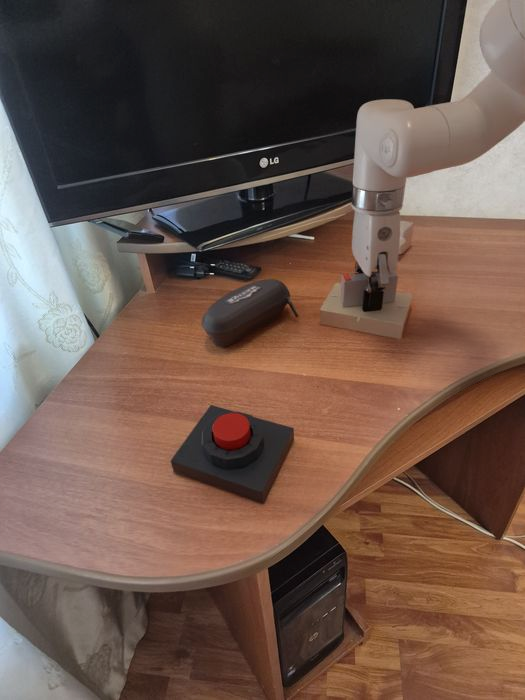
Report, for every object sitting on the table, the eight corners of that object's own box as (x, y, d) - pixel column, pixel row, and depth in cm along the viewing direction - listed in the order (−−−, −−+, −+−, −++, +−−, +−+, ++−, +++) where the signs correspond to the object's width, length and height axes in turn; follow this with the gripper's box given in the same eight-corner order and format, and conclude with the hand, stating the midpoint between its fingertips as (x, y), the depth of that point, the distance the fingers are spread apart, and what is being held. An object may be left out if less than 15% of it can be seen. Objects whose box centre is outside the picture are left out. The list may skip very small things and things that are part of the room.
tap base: (412, 303, 80) (414, 288, 78) (399, 345, 71) (401, 329, 69) (337, 292, 85) (338, 277, 83) (316, 329, 76) (316, 313, 74)
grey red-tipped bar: (390, 295, 77) (394, 268, 74) (394, 302, 75) (398, 274, 72) (339, 300, 77) (341, 274, 73) (343, 307, 75) (344, 280, 72)
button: (256, 428, 54) (255, 418, 52) (240, 455, 50) (239, 445, 49) (224, 418, 55) (223, 409, 54) (207, 444, 52) (205, 434, 51)
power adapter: (392, 266, 92) (396, 240, 88) (371, 261, 94) (373, 235, 90) (413, 247, 98) (417, 221, 95) (393, 242, 101) (396, 217, 97)
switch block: (294, 439, 56) (293, 418, 54) (263, 503, 49) (261, 482, 47) (212, 415, 61) (208, 394, 58) (173, 472, 54) (167, 450, 51)
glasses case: (261, 291, 85) (269, 261, 79) (299, 326, 81) (311, 297, 75) (186, 332, 75) (190, 301, 69) (226, 373, 72) (233, 344, 66)
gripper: (424, 214, 58) (405, 326, 69) (384, 177, 72) (373, 276, 83) (369, 219, 58) (358, 331, 69) (338, 181, 71) (334, 280, 83)
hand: (366, 300), depth 76 cm, fingers open, 5 cm apart
